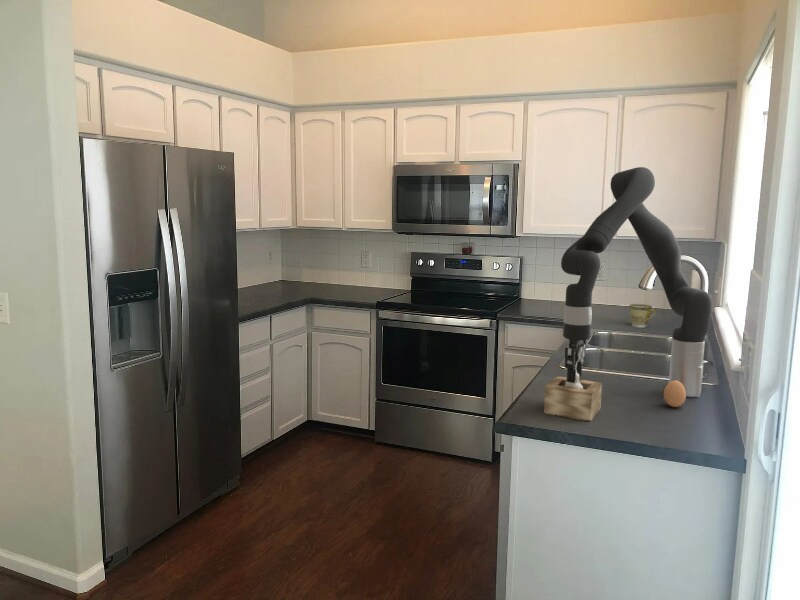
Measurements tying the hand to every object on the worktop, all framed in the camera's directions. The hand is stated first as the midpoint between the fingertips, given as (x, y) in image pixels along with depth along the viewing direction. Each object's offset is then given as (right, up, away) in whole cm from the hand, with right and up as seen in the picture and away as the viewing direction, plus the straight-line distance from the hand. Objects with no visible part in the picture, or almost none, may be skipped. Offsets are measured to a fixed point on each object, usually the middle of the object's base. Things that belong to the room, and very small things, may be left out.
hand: (574, 379), depth 184 cm
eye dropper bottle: (0, -9, +1) cm, 9 cm away
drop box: (0, -9, +2) cm, 10 cm away
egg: (+31, -9, +7) cm, 33 cm away
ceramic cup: (+66, +10, +124) cm, 140 cm away
